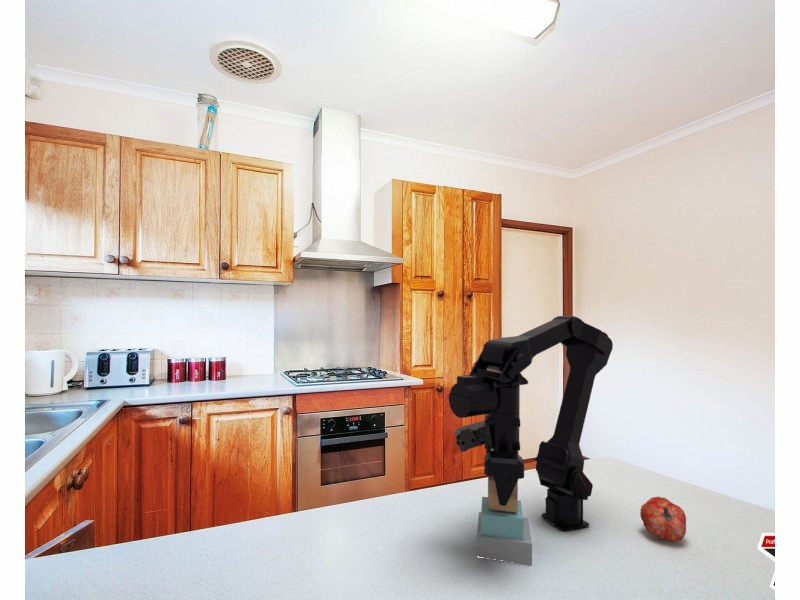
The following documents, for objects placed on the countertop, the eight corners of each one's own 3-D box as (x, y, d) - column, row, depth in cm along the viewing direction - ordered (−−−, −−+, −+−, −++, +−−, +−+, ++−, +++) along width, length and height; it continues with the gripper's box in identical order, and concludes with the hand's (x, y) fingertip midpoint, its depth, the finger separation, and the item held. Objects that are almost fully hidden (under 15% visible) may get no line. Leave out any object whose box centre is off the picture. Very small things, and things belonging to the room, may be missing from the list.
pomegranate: (637, 537, 83) (636, 523, 77) (643, 500, 87) (643, 484, 80) (682, 554, 79) (686, 541, 72) (686, 514, 82) (690, 498, 76)
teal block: (482, 515, 79) (482, 496, 79) (520, 519, 78) (520, 500, 78) (481, 534, 72) (481, 514, 73) (523, 540, 71) (523, 519, 71)
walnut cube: (488, 496, 78) (488, 469, 78) (515, 499, 77) (516, 472, 77) (487, 509, 73) (488, 480, 74) (517, 512, 72) (517, 483, 72)
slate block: (478, 533, 81) (478, 511, 81) (527, 539, 79) (528, 517, 79) (476, 560, 72) (476, 536, 72) (531, 568, 70) (532, 543, 70)
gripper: (461, 397, 87) (460, 474, 86) (453, 421, 68) (452, 518, 68) (517, 400, 84) (517, 479, 84) (524, 425, 66) (524, 526, 66)
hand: (502, 498), depth 75 cm, fingers closed on walnut cube, 5 cm apart
